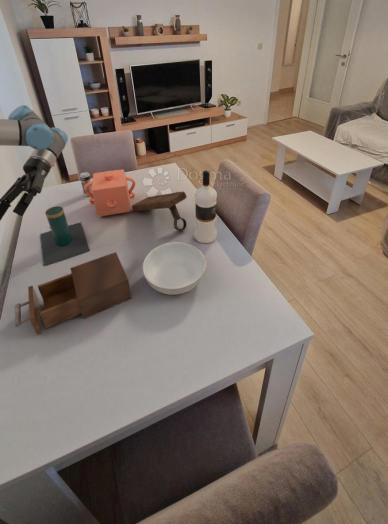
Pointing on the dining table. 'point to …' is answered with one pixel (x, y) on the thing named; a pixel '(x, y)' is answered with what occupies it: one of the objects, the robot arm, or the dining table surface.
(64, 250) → the mat
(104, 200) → the orange box
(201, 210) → the vodka
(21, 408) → the dining table surface
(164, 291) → the serving bowl
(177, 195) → the bottle opener
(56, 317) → the drawer
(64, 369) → the dining table surface
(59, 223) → the tin
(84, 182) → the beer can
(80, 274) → the cabinet
